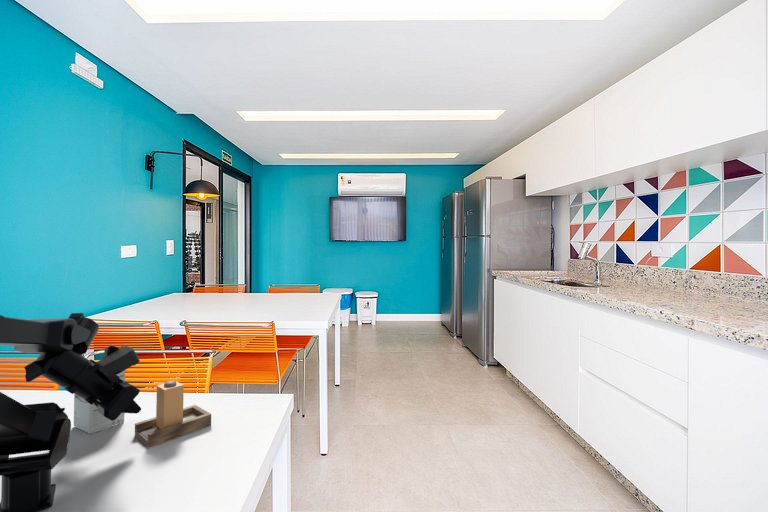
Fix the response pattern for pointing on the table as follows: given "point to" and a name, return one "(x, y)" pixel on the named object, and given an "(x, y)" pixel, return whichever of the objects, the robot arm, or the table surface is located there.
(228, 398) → the table surface
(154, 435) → the box
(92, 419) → the supplement box
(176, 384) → the block
